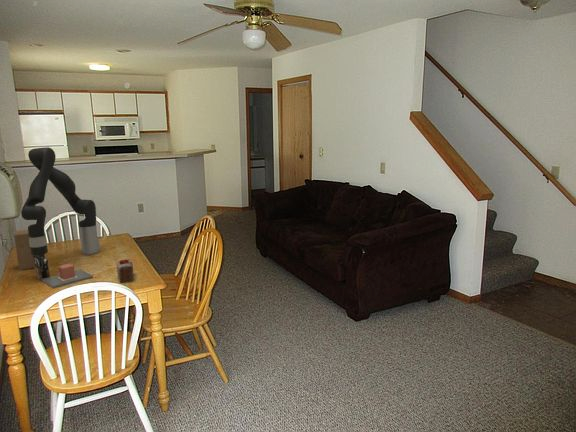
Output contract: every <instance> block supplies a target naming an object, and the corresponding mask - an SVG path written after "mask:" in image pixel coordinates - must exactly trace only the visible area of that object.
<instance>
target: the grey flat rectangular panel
mask: <svg viewBox="0 0 576 432" xmlns="http://www.w3.org/2000/svg"><path fill="white" fill-rule="evenodd" d="M93 278H94V276H93V274H90V273H89V272H86V271H84V270H82V269H78V270H75V277H74V278H70V279H66V280H63V279H61V278H60V276H59V274H57V275H53V276H50V277H48V278H44V279H41V282H43V283H44V284H46V285H47V286H49V287H50V288H52V289H56V288H59V287H63V286H67V285H71V284H75V283H79V282H82V281H85V280H91V279H93Z"/></svg>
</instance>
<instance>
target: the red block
mask: <svg viewBox="0 0 576 432" xmlns="http://www.w3.org/2000/svg"><path fill="white" fill-rule="evenodd" d="M75 271H76V270H75V266H74V265H73V264H71V263H66V264H62V265H58V275H59V276H60V278H61V279H63V280H66V279H70V278H74V277H75Z"/></svg>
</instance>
